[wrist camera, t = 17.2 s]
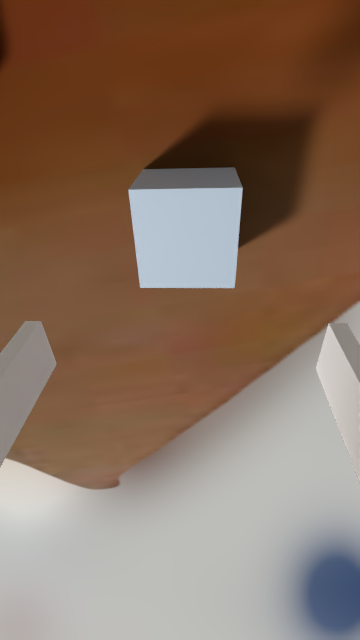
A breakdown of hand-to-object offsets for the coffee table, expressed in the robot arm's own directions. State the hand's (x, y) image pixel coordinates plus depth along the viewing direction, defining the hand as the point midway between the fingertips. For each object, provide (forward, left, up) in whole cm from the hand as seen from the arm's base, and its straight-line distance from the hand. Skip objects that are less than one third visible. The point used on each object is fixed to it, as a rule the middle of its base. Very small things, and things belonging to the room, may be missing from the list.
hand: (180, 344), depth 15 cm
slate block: (0, 0, -19) cm, 19 cm away
